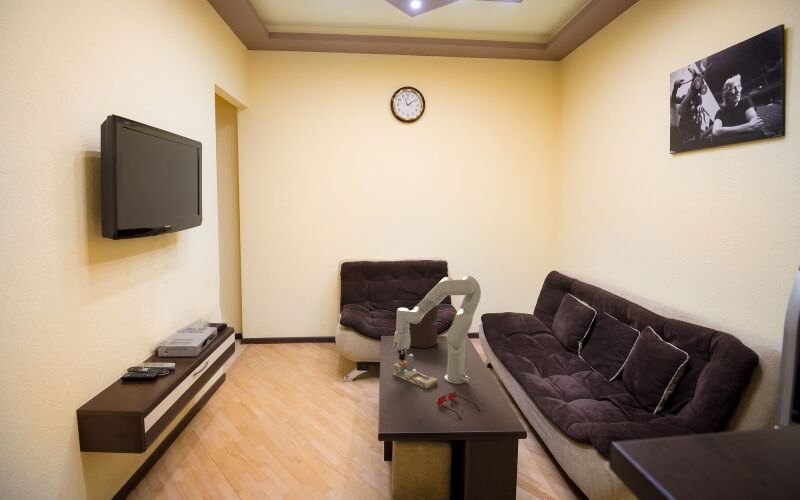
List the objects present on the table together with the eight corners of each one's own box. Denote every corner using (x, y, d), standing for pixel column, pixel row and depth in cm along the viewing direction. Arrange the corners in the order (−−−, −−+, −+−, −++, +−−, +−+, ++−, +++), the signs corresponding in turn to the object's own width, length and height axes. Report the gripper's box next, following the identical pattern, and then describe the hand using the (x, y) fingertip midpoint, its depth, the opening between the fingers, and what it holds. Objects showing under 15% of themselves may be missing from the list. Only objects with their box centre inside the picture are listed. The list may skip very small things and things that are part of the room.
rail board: (437, 384, 224) (437, 373, 223) (426, 388, 218) (426, 378, 217) (404, 370, 243) (404, 360, 242) (393, 374, 236) (393, 364, 236)
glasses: (454, 399, 208) (455, 389, 207) (480, 411, 195) (480, 401, 195) (435, 407, 199) (435, 397, 198) (461, 420, 186) (461, 410, 186)
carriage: (416, 374, 233) (416, 354, 232) (409, 376, 229) (410, 357, 228) (409, 371, 236) (410, 352, 235) (403, 374, 233) (403, 354, 231)
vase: (437, 337, 305) (438, 298, 302) (436, 349, 278) (437, 307, 275) (401, 335, 308) (402, 297, 304) (397, 348, 281) (398, 305, 278)
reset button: (406, 365, 237) (406, 360, 236) (402, 367, 234) (402, 362, 234) (402, 363, 239) (402, 359, 239) (398, 365, 237) (398, 360, 237)
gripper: (407, 325, 242) (406, 355, 244) (388, 330, 232) (388, 361, 234) (416, 328, 237) (415, 358, 239) (397, 333, 227) (397, 365, 229)
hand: (401, 359), depth 236 cm, fingers closed
